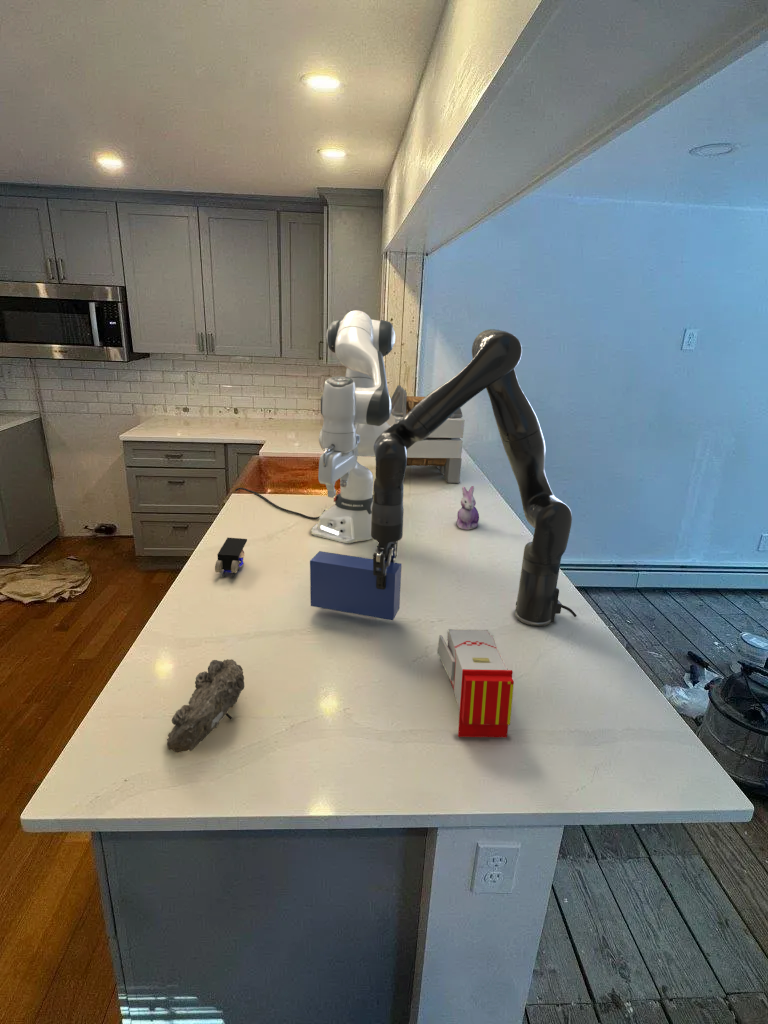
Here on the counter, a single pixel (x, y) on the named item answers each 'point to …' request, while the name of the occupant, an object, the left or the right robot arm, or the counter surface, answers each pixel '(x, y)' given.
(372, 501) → the left robot arm
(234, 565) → the figurine character
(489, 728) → the toy
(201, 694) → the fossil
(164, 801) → the counter surface
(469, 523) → the figurine
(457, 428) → the grey boxy piece
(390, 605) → the box
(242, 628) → the counter surface
